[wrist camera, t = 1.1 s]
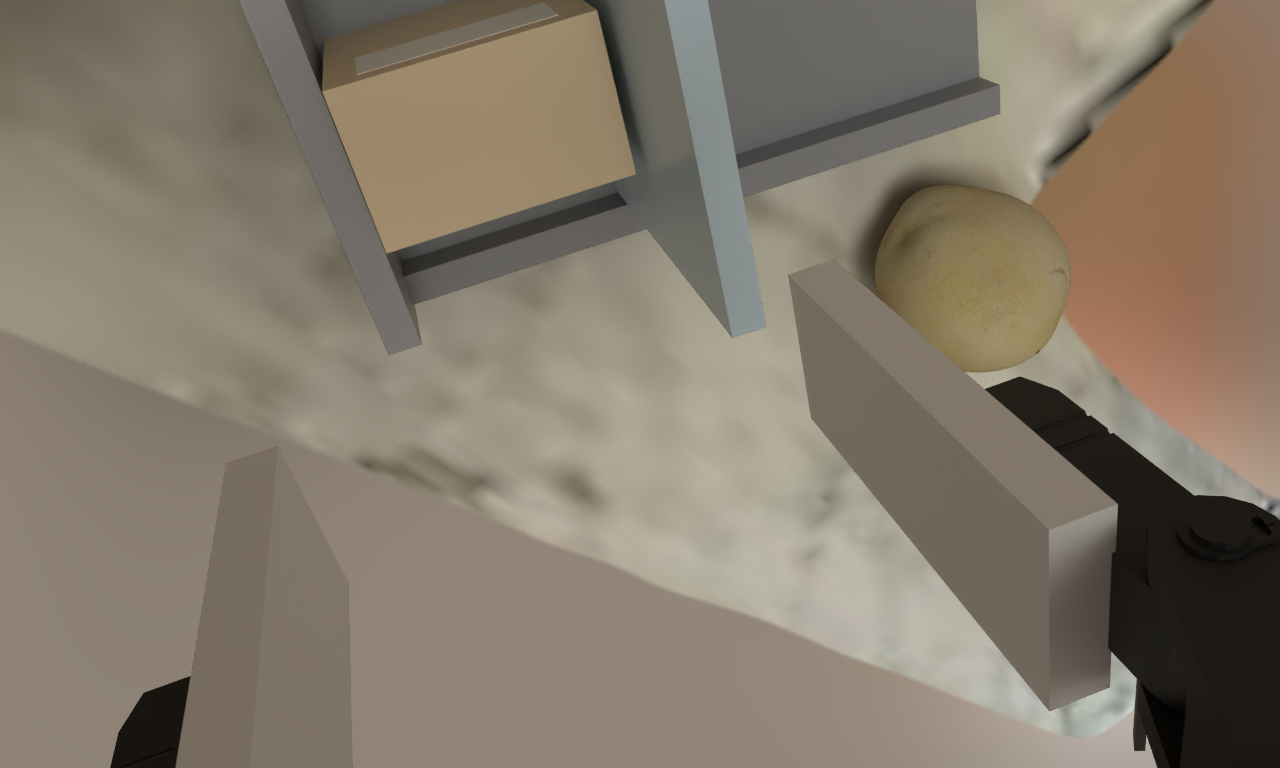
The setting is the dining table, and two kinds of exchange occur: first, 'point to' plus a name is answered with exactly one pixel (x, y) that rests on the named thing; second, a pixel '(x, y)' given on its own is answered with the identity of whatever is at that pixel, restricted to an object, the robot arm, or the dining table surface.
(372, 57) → the stock carton
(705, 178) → the grey bookend
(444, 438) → the dining table surface
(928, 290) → the potato
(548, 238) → the lane
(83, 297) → the dining table surface
